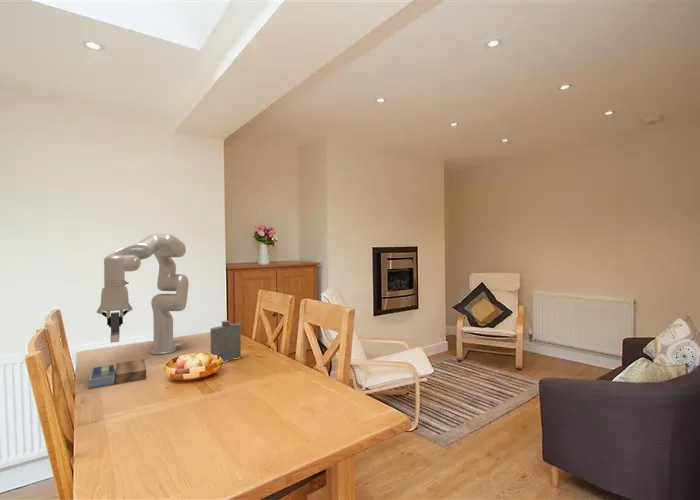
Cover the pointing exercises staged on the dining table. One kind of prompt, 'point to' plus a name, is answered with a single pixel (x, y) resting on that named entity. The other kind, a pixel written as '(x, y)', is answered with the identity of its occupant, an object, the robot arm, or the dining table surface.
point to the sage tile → (105, 372)
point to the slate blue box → (96, 378)
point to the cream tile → (105, 364)
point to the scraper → (115, 327)
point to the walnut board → (130, 371)
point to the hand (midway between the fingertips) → (115, 326)
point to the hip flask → (226, 341)
